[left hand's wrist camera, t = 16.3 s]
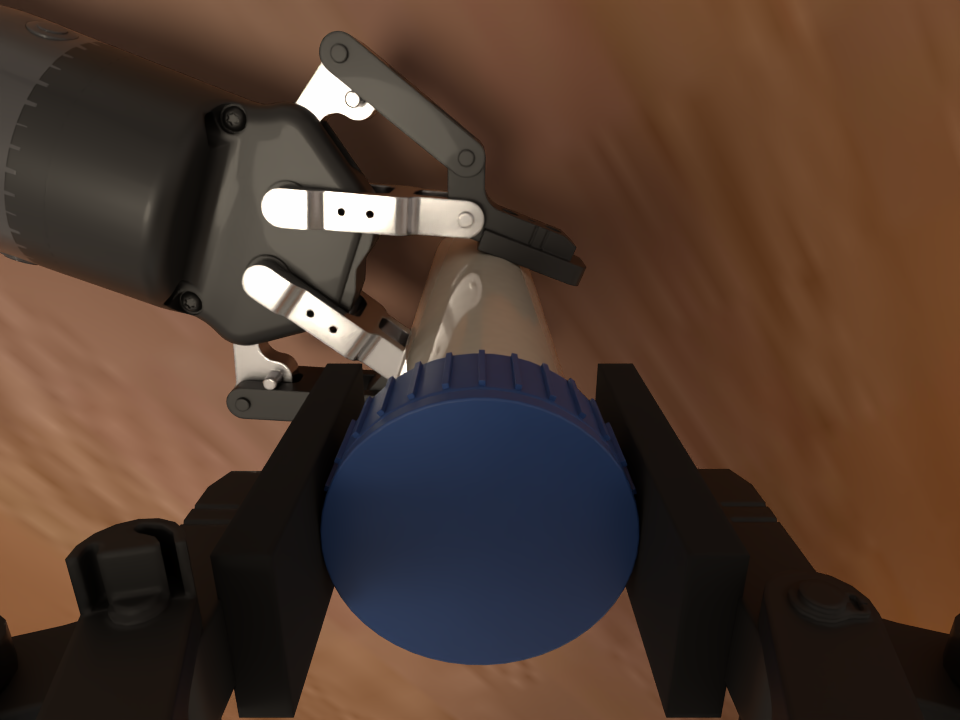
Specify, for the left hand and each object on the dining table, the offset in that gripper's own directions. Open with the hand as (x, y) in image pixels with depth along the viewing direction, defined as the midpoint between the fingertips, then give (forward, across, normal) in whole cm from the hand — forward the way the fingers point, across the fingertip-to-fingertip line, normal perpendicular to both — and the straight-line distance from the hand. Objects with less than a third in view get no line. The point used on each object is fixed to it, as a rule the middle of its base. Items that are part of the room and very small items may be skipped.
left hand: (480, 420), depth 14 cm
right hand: (+9, -2, +1) cm, 10 cm away
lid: (-4, 0, 0) cm, 4 cm away
